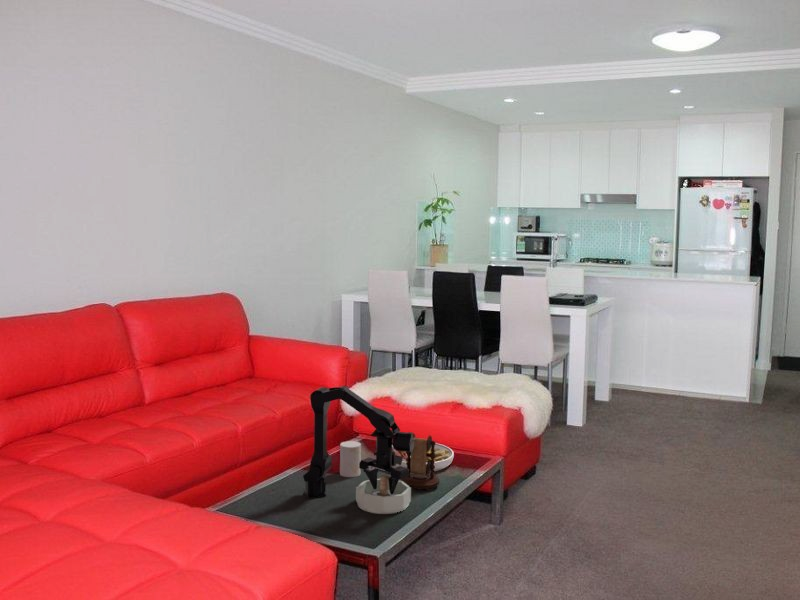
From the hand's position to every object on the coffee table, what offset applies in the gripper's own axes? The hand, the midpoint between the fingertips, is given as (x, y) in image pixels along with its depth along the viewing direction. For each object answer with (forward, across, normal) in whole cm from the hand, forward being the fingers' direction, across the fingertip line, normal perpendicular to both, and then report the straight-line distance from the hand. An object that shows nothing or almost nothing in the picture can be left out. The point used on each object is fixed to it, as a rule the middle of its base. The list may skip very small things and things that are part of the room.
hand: (383, 491), depth 268 cm
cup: (+5, +30, -16) cm, 34 cm away
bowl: (+5, +18, -45) cm, 49 cm away
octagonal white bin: (+4, 0, 0) cm, 4 cm away
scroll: (+5, +1, -24) cm, 24 cm away
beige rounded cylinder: (+3, 0, 0) cm, 3 cm away
